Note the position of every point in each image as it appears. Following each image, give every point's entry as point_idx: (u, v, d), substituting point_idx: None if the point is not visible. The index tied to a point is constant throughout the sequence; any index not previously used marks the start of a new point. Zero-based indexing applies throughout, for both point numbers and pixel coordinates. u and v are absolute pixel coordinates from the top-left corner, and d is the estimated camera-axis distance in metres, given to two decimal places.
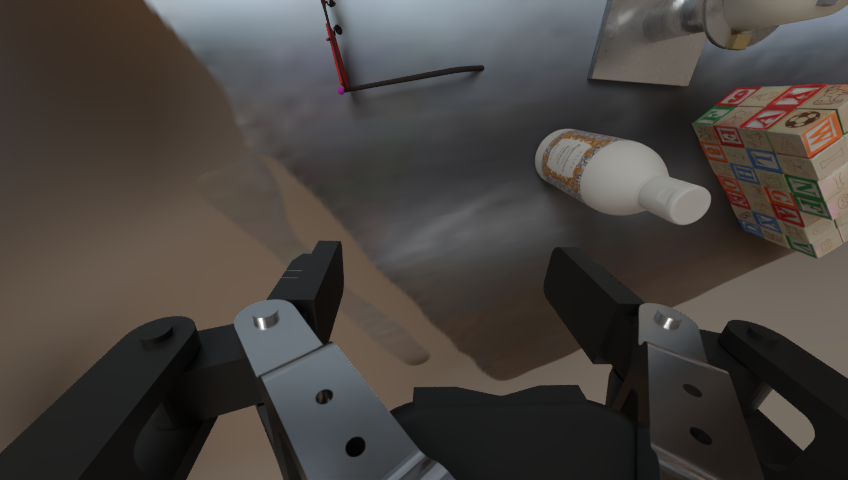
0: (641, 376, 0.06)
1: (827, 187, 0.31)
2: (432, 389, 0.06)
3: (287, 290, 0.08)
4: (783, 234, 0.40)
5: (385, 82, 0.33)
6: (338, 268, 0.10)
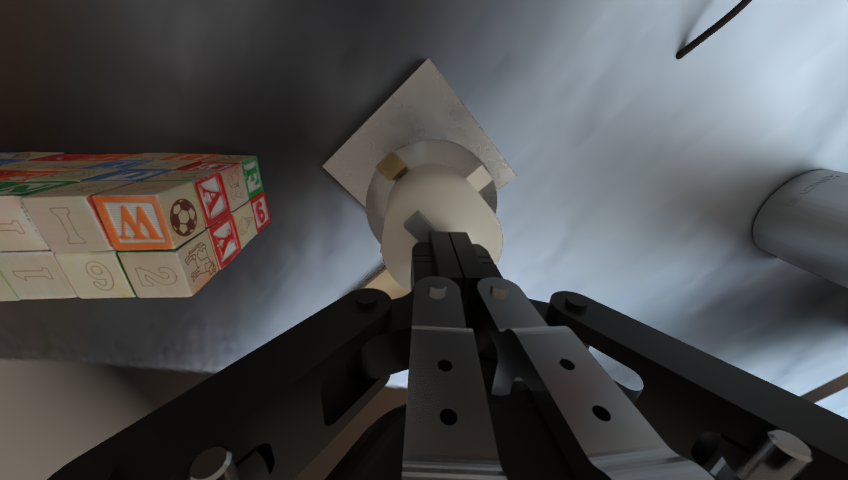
0: (525, 369, 0.05)
1: None
2: None
3: (425, 271, 0.10)
4: None
5: None
6: None
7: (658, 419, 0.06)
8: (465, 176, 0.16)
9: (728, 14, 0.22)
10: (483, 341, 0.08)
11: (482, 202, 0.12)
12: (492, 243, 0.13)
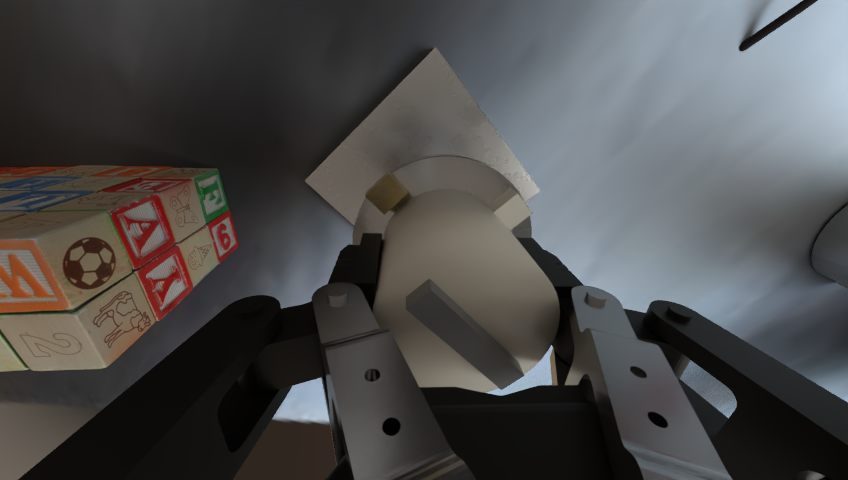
0: (591, 365, 0.06)
1: None
2: (432, 389, 0.06)
3: (344, 276, 0.09)
4: None
5: None
6: None
7: (749, 446, 0.06)
8: (492, 208, 0.11)
9: None
10: None
11: (533, 266, 0.08)
12: (542, 323, 0.08)
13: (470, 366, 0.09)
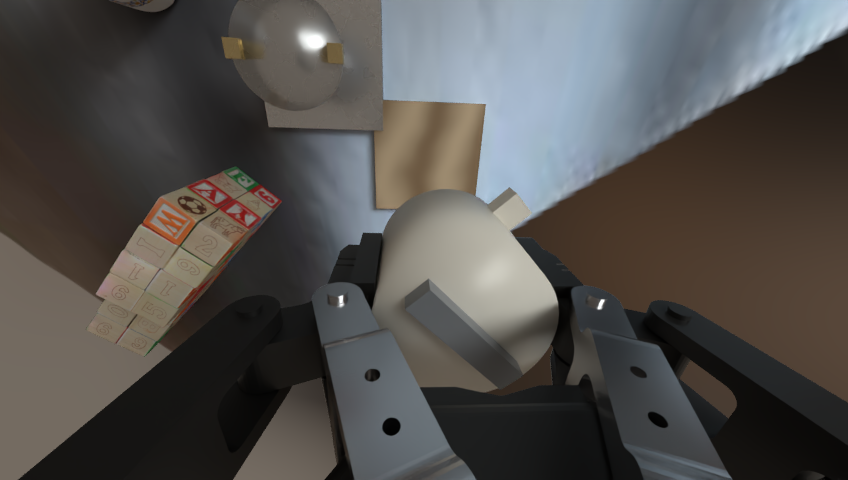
0: (592, 365, 0.06)
1: (123, 264, 0.26)
2: (432, 390, 0.06)
3: (344, 276, 0.09)
4: None
5: None
6: None
7: (749, 445, 0.06)
8: (492, 209, 0.11)
9: None
10: None
11: (531, 266, 0.08)
12: (541, 323, 0.08)
13: (469, 366, 0.09)
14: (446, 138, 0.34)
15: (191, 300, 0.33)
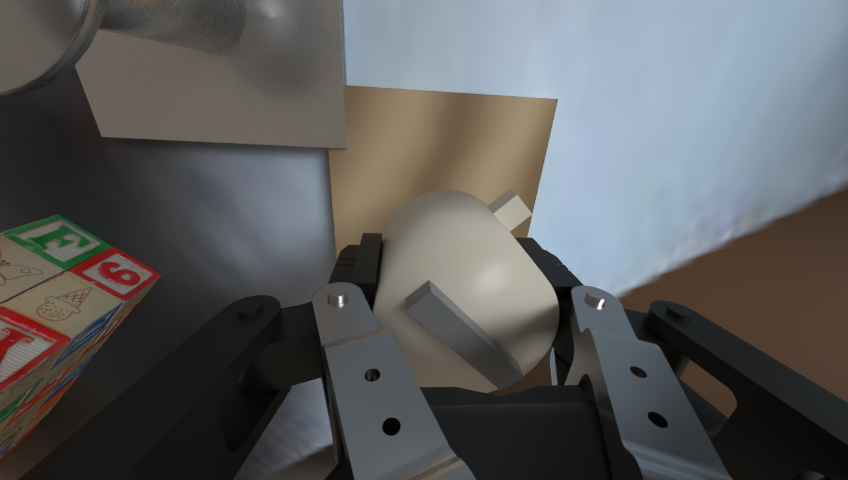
0: (591, 365, 0.06)
1: None
2: (432, 389, 0.06)
3: (344, 276, 0.09)
4: None
5: None
6: None
7: (749, 445, 0.06)
8: (492, 210, 0.11)
9: None
10: None
11: (532, 267, 0.08)
12: (542, 324, 0.08)
13: (469, 367, 0.09)
14: (473, 165, 0.17)
15: None
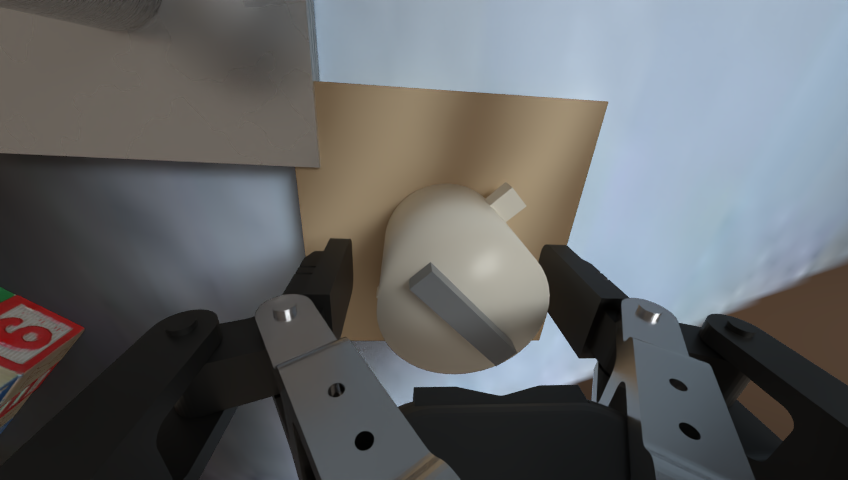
0: (628, 372, 0.06)
1: None
2: (432, 389, 0.06)
3: (302, 285, 0.09)
4: None
5: None
6: (349, 265, 0.11)
7: (804, 472, 0.06)
8: (489, 202, 0.12)
9: None
10: None
11: (524, 251, 0.08)
12: (534, 304, 0.09)
13: (467, 345, 0.10)
14: (491, 189, 0.13)
15: None
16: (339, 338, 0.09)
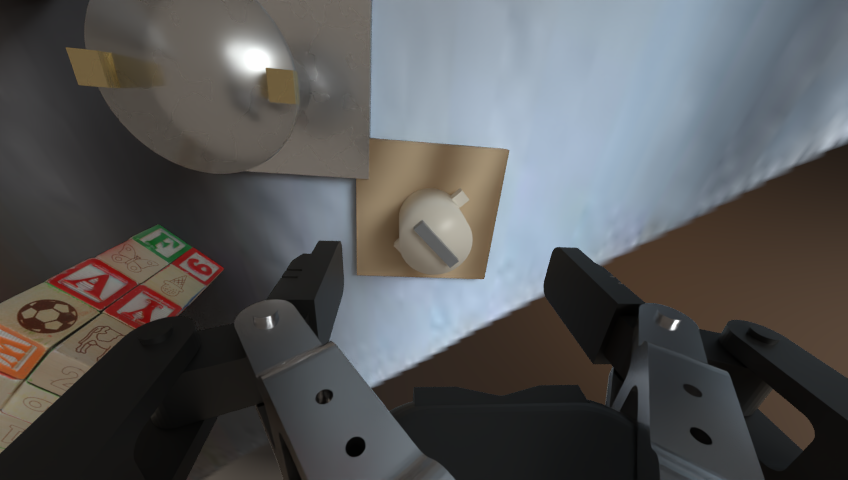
0: (641, 376, 0.06)
1: None
2: (432, 389, 0.06)
3: (288, 290, 0.08)
4: None
5: None
6: (338, 268, 0.10)
7: None
8: (451, 197, 0.24)
9: None
10: None
11: (460, 216, 0.21)
12: (466, 240, 0.22)
13: (438, 259, 0.22)
14: (454, 191, 0.25)
15: None
16: None
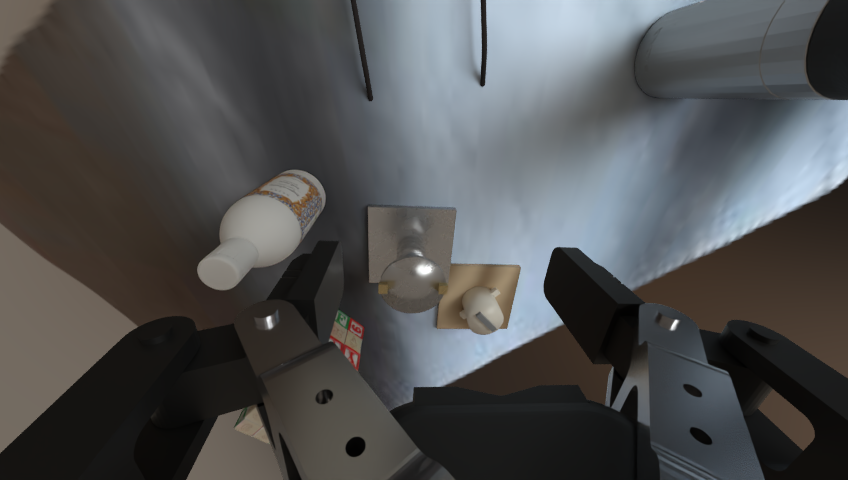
0: (641, 376, 0.06)
1: None
2: (432, 389, 0.06)
3: (287, 290, 0.08)
4: None
5: None
6: (338, 268, 0.10)
7: None
8: (491, 292, 0.47)
9: (482, 56, 0.33)
10: None
11: (497, 309, 0.43)
12: (500, 319, 0.44)
13: (486, 327, 0.45)
14: (491, 287, 0.48)
15: None
16: None
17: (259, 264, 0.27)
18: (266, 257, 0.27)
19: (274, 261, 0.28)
